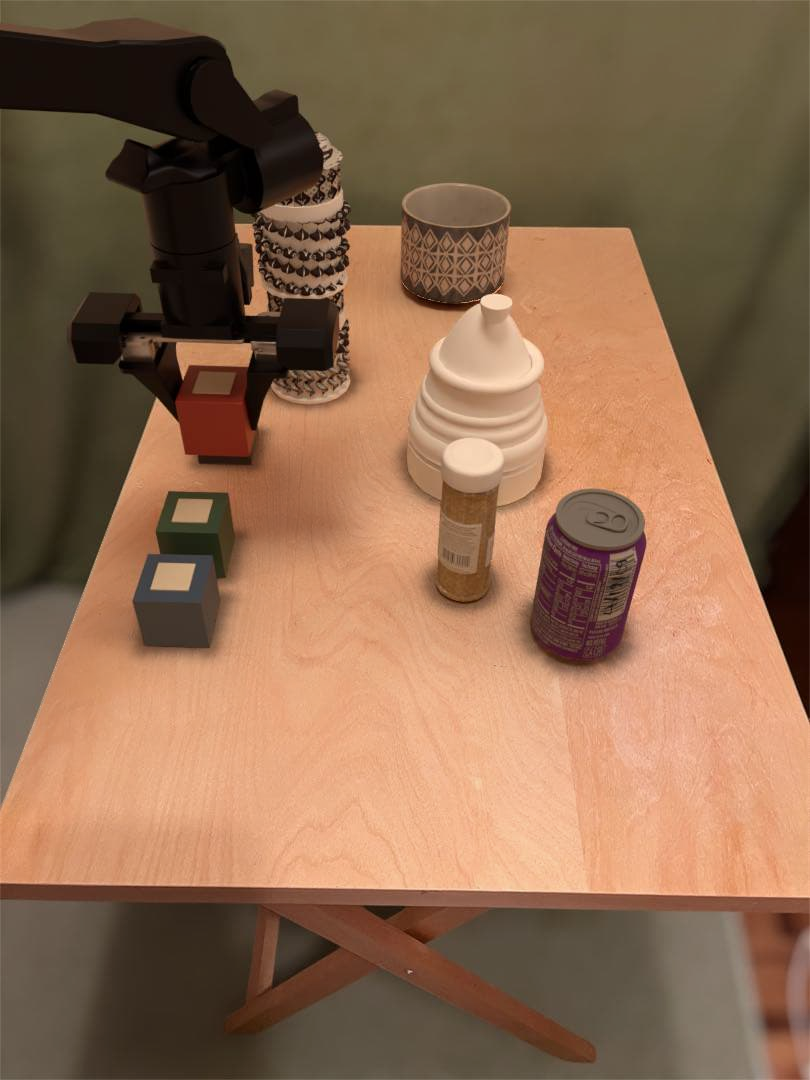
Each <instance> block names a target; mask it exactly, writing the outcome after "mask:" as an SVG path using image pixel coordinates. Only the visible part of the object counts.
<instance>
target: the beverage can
mask: <svg viewBox="0 0 810 1080" xmlns="http://www.w3.org/2000/svg"><path fill="white" fill-rule="evenodd" d="M645 519H646V518H645V516H644V513H643V511H642V510H641V509H640V507H639V506H638V505H637V504H636V503H635V502H634V501H633V500H631V499H630V498H628V497H626V496H624V495H622V494H620V493H618V492H616V491H612V490H608V489H604V488H603V489H602V488H583V489H578V490H577V489H576V490H574V491H572V492H570V493H567V494H566V495H565V496H563V497H562V498H561V499H560V500H559V502H558V503H557V506H556V508H555V512H554V513H553V514H552V515H551V517H550V518H549V520H548V522H547V524H546V527H545V532H544V538H543V544H542V549H541V555H540V560H539V561H540V563H539V566H538V572H537V579H536V584H535V591H534V596H533V602H532V607H531V608H532V609H531V613H530V628H531V630H532V633H533V635H534V636H535V638H536V639H537V641H539V643H540V644H541V645H542V646H543V647H544V648H546V650H549V651H550V652H552V653H554V654H555V655H558V656H560V657H563V658H565V659H569V660H574V661H575V660H577V661H590V660H592V661H593V660H596V659H597V660H598V659H601V658H603V657H606V656H607V655H609V654H611V653H612V652H613V651H614V650H616V648H617V647H618V646H619V645H620V643H621V641H622V639H623V634H624V630H625V626H626V623H627V619H628V617H629V616H628V615H629V612H630V609H631V605H632V601H633V598H634V593H635V590H636V586H637V584H638V580H639V575H640V571H641V568H642V565H643V561H644V558H645V553H646V550H647V536H646V533H645V526H646V520H645Z"/></svg>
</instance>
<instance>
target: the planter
mask: <svg viewBox="0 0 810 1080" xmlns="http://www.w3.org/2000/svg"><path fill="white" fill-rule="evenodd" d="M511 212H512V205H511V202H510V201H509V200H508V198H507V197H505V195H503V194H501V193H500V192H498V191H496V190H493V189H491V188H489V187H485V186H481V185H477V184H471V183H464V182H463V183H462V182H442V183H432V184H428V185H424V186H420V187H417V188H415V189H412V190H411V191H409V192H408V193H406V195H404V197H403V198H402V201H401V224H400V225H401V226H400V227H401V230H400V232H401V233H400V235H401V236H400V281H401V280H402V281H401V283H402V282H403V283H404V285H405V286H406V287H407V288H408V289H409V290H410V291H411V292H413V293H415V294H416V295H419V296H421V297H424V298H426V299H431V300H434V301H440V302H447V303H461V302H469V301H472V300H473V301H474V300H478V299H481V298H482V297H484V296H486V295H489V294H492V293H494V292H495V291H496V290H497V289H498V288H499V287H500V286H501V285H502V283H503V284H504V281H503V280H505V273H506V271H505V270H506V262H507V252H508V241H509V232H510V221H511ZM403 283H402V284H403ZM404 285H403V286H404ZM502 286H503V285H502ZM410 291H409V292H410ZM411 292H410V293H411ZM413 293H412V294H413ZM416 295H415V296H416ZM426 299H425V300H426Z"/></svg>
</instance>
